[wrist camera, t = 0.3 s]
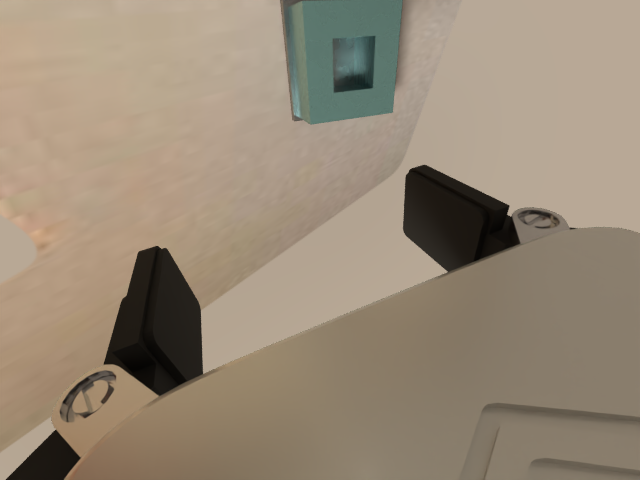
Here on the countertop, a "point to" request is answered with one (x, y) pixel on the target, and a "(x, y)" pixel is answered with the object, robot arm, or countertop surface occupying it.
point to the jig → (341, 57)
